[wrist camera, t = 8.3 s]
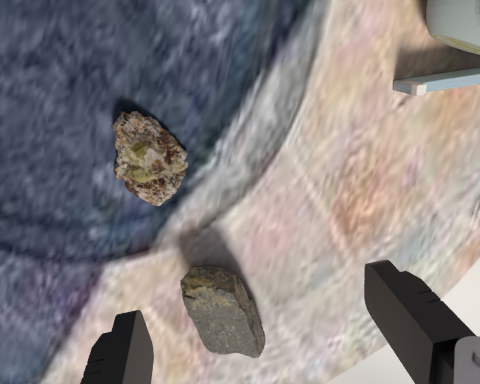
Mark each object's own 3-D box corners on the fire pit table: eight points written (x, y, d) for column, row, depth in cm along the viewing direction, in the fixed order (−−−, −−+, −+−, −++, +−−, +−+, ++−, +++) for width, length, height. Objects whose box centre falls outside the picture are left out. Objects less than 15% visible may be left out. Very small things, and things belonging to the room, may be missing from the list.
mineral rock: (205, 189, 38) (137, 222, 36) (195, 180, 42) (133, 209, 40) (165, 96, 34) (86, 128, 32) (158, 95, 38) (87, 123, 36)
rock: (147, 306, 41) (215, 278, 37) (164, 266, 47) (224, 238, 43) (228, 383, 47) (292, 365, 44) (234, 340, 53) (291, 321, 49)
